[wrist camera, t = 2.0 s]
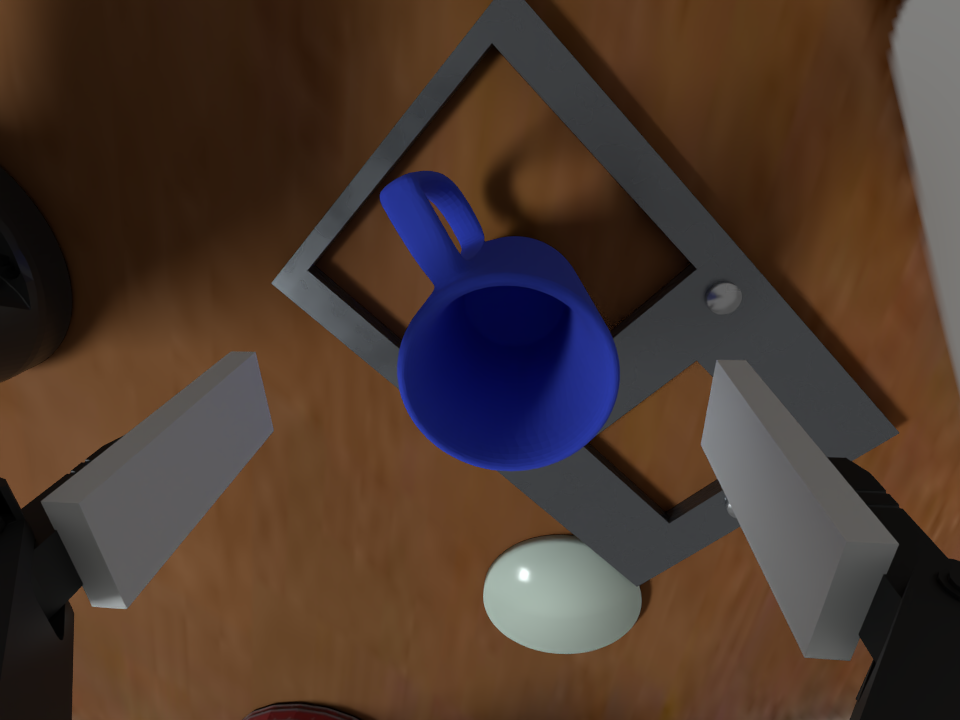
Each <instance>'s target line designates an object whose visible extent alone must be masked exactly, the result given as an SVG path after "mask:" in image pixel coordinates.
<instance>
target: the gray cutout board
mask: <svg viewBox="0 0 960 720" xmlns="http://www.w3.org/2000/svg"><path fill="white" fill-rule="evenodd" d="M493 45H494V47H495V48H496V49H497V50H498V51H499V52H500V53H501V54H502V55H503V56H504V58H505V59H506V60H507V61H508V62H509V63H510V64H511V65H512V66H513V67H514V69H515V70H516V71H517V72H518V73H519V74H520V75H521V76H522V77H523V78H524V80H525V81H526V82H527V83H528V84H529V85H530V86H531V87H532V88H533V90H534V91H535V92H536V93H537V94H538V95H539V96H540V97H541V98H542V99H543V101H544V102H545V103H546V104H547V105H548V106H549V107H550V108H551V109H552V110H553V112H554V113H555V114H556V115H557V116H558V117H559V118H560V119H561V120H562V121H563V123H564V124H565V125H566V126H567V127H568V128H569V129H570V130H571V131H572V132H573V134H574V135H575V136H576V137H577V138H578V139H579V140H580V141H581V142H582V144H583V145H584V146H585V147H586V148H587V149H588V150H589V151H590V152H591V153H592V155H593V156H594V157H595V158H596V159H597V160H598V161H599V162H600V163H601V164H602V166H603V167H604V168H605V169H606V170H607V171H608V172H609V173H610V174H611V175H612V177H613V178H614V179H615V180H616V181H617V182H618V183H619V184H620V185H621V187H622V188H623V189H624V190H625V191H626V192H627V193H628V194H629V195H630V196H631V198H632V199H633V200H634V201H635V202H636V203H637V204H638V205H639V206H640V207H641V209H642V210H643V211H644V212H645V213H646V214H647V215H648V216H649V217H650V218H651V220H652V221H653V222H654V223H655V224H656V225H657V226H658V227H659V228H660V229H661V231H662V232H663V233H664V234H665V235H666V236H667V237H668V238H669V239H670V241H671V242H672V243H673V244H674V245H675V246H676V247H677V248H678V249H679V250H680V252H681V253H682V254H683V255H684V256H685V257H686V258H687V259H688V260H689V261H690V263H691V265H689V266H688V267H687V268H686V269H685V270H683V271H682V272H681V273H680V274H679V275H677V276H676V277H675V278H674V279H673V280H671V281H670V282H669V283H668V284H667V285H665V286H664V287H663V288H662V289H661V290H659V291H658V292H657V293H656V294H655V295H653V296H652V297H651V298H650V299H649V300H647V301H646V302H645V303H644V304H643V305H641V306H640V307H639V308H638V309H637V310H635V311H634V312H633V313H632V314H631V315H629V316H628V317H627V318H626V319H625V320H623V321H622V322H621V323H620V324H619V325H617V326H616V327H615V328H614V329H613V330H611V331H610V333H611V335H612V337H613V340H614V343H615V346H616V349H617V353H618V358H619V365H620V384H619V389H618V395H617V398H616V402H615V405H614V407H613V410H612V412H611V414H610V416H609V418H608V420H607V421H606V423H605V424H604V426H603V427H602V429H601V430H600V431H599V432H598V433H597V435H598V434H599V433H600V432H602V431H603V430H604V429H606V428H607V427H608V426H610V425H611V424H612V423H614V422H615V421H616V420H618V419H619V418H620V417H622V416H623V415H624V414H626V413H627V412H628V411H630V410H631V409H632V408H634V407H635V406H636V405H638V404H639V403H640V402H642V401H643V400H644V399H646V398H647V397H648V396H650V395H651V394H652V393H654V392H655V391H656V390H658V389H659V388H660V387H662V386H663V385H664V384H666V383H667V382H668V381H670V380H671V379H672V378H674V377H675V376H676V375H678V374H679V373H680V372H682V371H683V370H684V369H686V368H687V367H688V366H690V365H691V364H692V363H694V362H695V361H696V360H697V361H698V362H699V363H700V364H701V365H702V366H703V367H704V368H705V369H706V370H707V371H708V372H709V373H710V375H711V376H712V377H713V376H714V371H715V365H716V360H746V361H747V362H748V363H749V364H750V366H751V367H752V368H753V369H754V370H755V372H756V373H757V374H758V375H759V376H760V378H761V379H762V380H763V381H764V382H765V384H766V385H767V386H768V387H769V388H770V390H771V391H772V392H773V393H774V394H775V396H776V397H777V398H778V399H779V400H780V402H781V403H782V404H783V405H784V406H785V408H786V409H787V410H788V411H789V412H790V414H791V415H792V416H793V417H794V418H795V420H796V421H797V422H798V423H799V424H800V426H801V427H802V428H803V429H804V430H805V432H806V433H807V434H808V435H809V436H810V438H811V439H812V440H813V441H814V442H815V444H816V445H817V446H818V447H819V448H820V450H821V451H822V452H823V453H824V454H825V456H826V457H840V458H847V459H849V460H850V461H853V460H854V459H856V458H858V457H859V456H861V455H863V454H865V453H866V452H868V451H870V450H871V449H873V448H875V447H876V446H878V445H880V444H882V443H883V442H885V441H887V440H888V439H890V438H892V437H894V436H895V435H897V434H899V432H898V431H897V430H896V428H895V427H894V426H893V425H892V424H891V423H890V422H889V420H888V419H887V418H886V417H885V416H884V415H883V413H882V412H881V411H880V410H879V409H878V408H877V407H876V405H875V404H874V403H873V402H872V401H871V400H870V398H869V397H868V396H867V395H866V394H865V393H864V391H863V390H862V389H861V388H860V387H859V386H858V385H857V383H856V382H855V381H854V380H853V379H852V378H851V376H850V375H849V374H848V373H847V372H846V371H845V370H844V368H843V367H842V366H841V365H840V364H839V363H838V361H837V360H836V359H835V358H834V357H833V356H832V355H831V353H830V352H829V351H828V350H827V349H826V348H825V346H824V345H823V344H822V343H821V342H820V341H819V340H818V338H817V337H816V336H815V335H814V334H813V333H812V331H811V330H810V329H809V328H808V327H807V326H806V325H805V323H804V322H803V321H802V320H801V319H800V318H799V316H798V315H797V314H796V313H795V312H794V311H793V310H792V308H791V307H790V306H789V305H788V304H787V303H786V301H785V300H784V299H783V298H782V297H781V296H780V295H779V293H778V292H777V291H776V290H775V289H774V288H773V286H772V285H771V284H770V283H769V282H768V281H767V280H766V278H765V277H764V276H763V275H762V274H761V273H760V271H759V270H758V269H757V268H756V267H755V266H754V265H753V263H752V262H751V261H750V260H749V259H748V258H747V256H746V255H745V254H744V253H743V252H742V251H741V250H740V248H739V247H738V246H737V245H736V244H735V243H734V241H733V240H732V239H731V238H730V237H729V236H728V235H727V233H726V232H725V231H724V230H723V229H722V228H721V226H720V225H719V224H718V223H717V222H716V221H715V219H714V218H713V217H712V216H711V215H710V214H709V213H708V211H707V210H706V209H705V208H704V207H703V206H702V204H701V203H700V202H699V201H698V200H697V199H696V198H695V196H694V195H693V194H692V193H691V192H690V191H689V189H688V188H687V187H686V186H685V185H684V184H683V183H682V181H681V180H680V179H679V178H678V177H677V176H676V174H675V173H674V172H673V171H672V170H671V169H670V168H669V166H668V165H667V164H666V163H665V162H664V161H663V159H662V158H661V157H660V156H659V155H658V154H657V153H656V151H655V150H654V149H653V148H652V147H651V146H650V144H649V143H648V142H647V141H646V140H645V139H644V138H643V136H642V135H641V134H640V133H639V132H638V131H637V129H636V128H635V127H634V126H633V125H632V124H631V123H630V121H629V120H628V119H627V118H626V117H625V116H624V114H623V113H622V112H621V111H620V110H619V109H618V108H617V106H616V105H615V104H614V103H613V102H612V101H611V99H610V98H609V97H608V96H607V95H606V94H605V93H604V91H603V90H602V89H601V88H600V87H599V86H598V84H597V83H596V82H595V81H594V80H593V79H592V78H591V76H590V75H589V74H588V73H587V72H586V71H585V69H584V68H583V67H582V66H581V65H580V64H579V62H578V61H577V60H576V59H575V58H574V57H573V56H572V54H571V53H570V52H569V51H568V50H567V49H566V47H565V46H564V45H563V44H562V43H561V42H560V41H559V39H558V38H557V37H556V36H555V35H554V34H553V32H552V31H551V30H550V29H549V28H548V27H547V26H546V24H545V23H544V22H543V21H542V20H541V19H540V17H539V16H538V15H537V14H536V13H535V12H534V11H533V9H532V8H531V7H530V6H529V5H528V4H527V2H526V1H525V0H493V1H492V3H491V4H490V5H489V7H488V8H487V9H486V10H485V12H484V13H483V14H482V16H481V17H480V18H479V19H478V21H477V22H476V23H475V24H474V26H473V27H472V28H471V30H470V31H469V32H468V33H467V35H466V36H465V37H464V38H463V40H462V41H461V42H460V44H459V45H458V46H457V47H456V49H455V50H454V51H453V52H452V54H451V55H450V56H449V58H448V59H447V60H446V61H445V63H444V64H443V65H442V66H441V68H440V69H439V70H438V72H437V73H436V74H435V75H434V77H433V78H432V79H431V81H430V82H429V83H428V84H427V86H426V87H425V88H424V89H423V91H422V92H421V93H420V95H419V96H418V97H417V98H416V100H415V101H414V102H413V103H412V105H411V106H410V107H409V109H408V110H407V111H406V112H405V114H404V115H403V116H402V117H401V119H400V120H399V121H398V123H397V124H396V125H395V126H394V128H393V129H392V130H391V131H390V133H389V134H388V135H387V137H386V138H385V139H384V140H383V142H382V143H381V144H380V146H379V147H378V148H377V149H376V151H375V152H374V153H373V154H372V156H371V157H370V158H369V160H368V161H367V162H366V163H365V165H364V166H363V167H362V168H361V170H360V171H359V172H358V174H357V175H356V176H355V177H354V179H353V180H352V181H351V182H350V184H349V185H348V186H347V188H346V189H345V190H344V191H343V193H342V194H341V195H340V196H339V198H338V199H337V200H336V202H335V203H334V204H333V205H332V207H331V208H330V209H329V211H328V212H327V213H326V214H325V216H324V217H323V218H322V219H321V221H320V222H319V223H318V225H317V226H316V227H315V228H314V230H313V231H312V232H311V233H310V235H309V236H308V237H307V239H306V240H305V241H304V242H303V244H302V245H301V246H300V247H299V249H298V250H297V251H296V253H295V254H294V255H293V256H292V258H291V259H290V260H289V261H288V263H287V264H286V265H285V267H284V268H283V269H282V270H281V272H280V273H279V274H278V276H277V277H276V278H275V279H274V281H273V282H272V284H273V285H274V286H275V287H276V288H278V289H279V290H280V291H281V292H282V293H284V294H285V295H286V296H287V297H288V298H290V299H291V300H292V301H293V302H294V303H296V304H297V305H298V306H299V307H300V308H302V309H303V310H304V311H305V312H306V313H308V314H309V315H310V316H311V317H312V318H314V319H315V320H316V321H317V322H319V323H320V324H321V325H322V326H323V327H325V328H326V329H327V330H328V331H329V332H331V333H332V334H333V335H334V336H335V337H337V338H338V339H339V340H340V341H341V342H343V343H344V344H345V345H346V346H347V347H349V348H350V349H351V350H352V351H353V352H355V353H356V354H357V355H358V356H359V357H361V358H362V359H363V360H364V361H365V362H367V363H368V364H369V365H370V366H371V367H373V368H374V369H375V370H376V371H378V372H379V373H380V374H381V375H382V376H384V377H385V378H386V379H387V380H388V381H390V382H391V383H392V384H393V385H394V386H396V387H397V388H398V389H399V385H398V377H397V362H398V354H399V349H400V346H401V342H402V340H401V339H400V338H398V337H397V336H396V335H395V334H394V333H393V332H391V331H390V330H389V329H388V328H387V327H386V326H384V325H383V324H382V323H381V322H380V321H379V320H378V319H376V318H375V317H374V316H373V315H372V314H371V313H369V312H368V311H367V310H366V309H365V308H364V307H362V306H361V305H360V304H359V303H358V302H357V301H355V300H354V299H353V298H352V297H351V296H350V295H349V294H347V293H346V292H345V291H344V290H343V289H342V288H340V287H339V286H338V285H337V284H336V283H335V282H333V281H332V280H331V279H330V278H329V277H328V276H326V275H325V274H324V273H323V272H322V271H321V270H320V269H318V268H317V267H316V266H315V264H316V263H317V261H318V260H319V259H320V258H321V257H322V255H323V254H324V253H325V252H326V250H327V249H328V248H329V247H330V245H331V244H332V243H333V242H334V241H335V239H336V238H337V237H338V236H339V234H340V233H341V232H342V231H343V229H344V228H345V227H346V226H347V225H348V223H349V222H350V221H351V220H352V218H353V217H354V216H355V215H356V214H357V212H358V211H359V210H360V209H361V207H362V206H363V205H364V204H365V202H366V201H367V200H368V199H369V198H370V196H371V195H372V194H373V193H374V191H375V190H376V189H377V188H378V186H379V185H380V184H381V183H382V182H383V180H384V179H385V178H386V177H387V175H388V174H389V173H390V172H391V171H392V169H393V168H394V167H395V166H396V164H397V163H398V162H399V161H400V159H401V158H402V157H403V156H404V155H405V153H406V152H407V151H408V150H409V148H410V147H411V146H412V145H413V144H414V142H415V141H416V140H417V139H418V137H419V136H420V135H421V134H422V132H423V131H424V130H425V129H426V128H427V126H428V125H429V124H430V123H431V121H432V120H433V119H434V118H435V116H436V115H437V114H438V113H439V112H440V110H441V109H442V108H443V107H444V105H445V104H446V103H447V102H448V101H449V99H450V98H451V97H452V96H453V94H454V93H455V92H456V91H457V89H458V88H459V87H460V86H461V85H462V83H463V82H464V81H465V80H466V78H467V77H468V76H469V75H470V74H471V72H472V71H473V70H474V69H475V67H476V66H477V65H478V64H479V62H480V61H481V60H482V59H483V58H484V56H485V55H486V54H487V53H488V51H489V50H490V49H491V48H492V46H493ZM497 471H498V470H497ZM498 472H499V473H500V474H502V475H503V476H504V477H505V478H506V479H508V480H509V481H510V482H511V483H512V484H514V485H515V486H516V487H517V488H518V489H520V490H521V491H522V492H523V493H524V494H526V495H527V496H528V497H529V498H530V499H532V500H533V501H534V502H535V503H536V504H538V505H539V506H540V507H541V508H542V509H544V510H545V511H546V512H547V513H548V514H550V515H551V516H552V517H553V518H555V519H556V520H557V521H558V522H559V523H561V524H562V525H563V526H564V527H565V528H567V529H568V530H569V531H570V532H571V533H573V534H574V535H575V536H576V537H577V538H579V539H580V540H581V541H582V542H583V543H585V544H586V545H587V546H588V547H589V548H591V549H592V550H593V551H594V552H595V553H597V554H598V555H599V556H600V557H601V558H603V559H604V560H605V561H606V562H607V563H609V564H610V565H611V566H612V567H614V568H615V569H616V570H617V571H618V572H620V573H621V574H622V575H623V576H624V577H626V578H627V579H628V580H629V581H630V582H632V583H633V584H634V585H635V586H636V587H638V586H639V585H641V584H643V583H644V582H646V581H648V580H649V579H651V578H653V577H655V576H656V575H658V574H660V573H661V572H663V571H665V570H667V569H668V568H670V567H672V566H673V565H675V564H677V563H678V562H680V561H682V560H684V559H685V558H687V557H689V556H690V555H692V554H694V553H696V552H697V551H699V550H701V549H702V548H704V547H706V546H708V545H709V544H711V543H713V542H714V541H716V540H718V539H719V538H721V537H723V536H725V535H726V534H728V533H730V532H731V531H733V530H735V529H737V528H738V527H740V524H739V522H738V520H737V518H736V516H735V514H734V512H733V510H732V508H731V505H730V503H729V501H728V499H727V497H726V495H725V493H724V491H723V489H722V487H721V485H720V483H719V481H718V479H717V480H716V481H714V482H713V483H711V484H709V485H708V486H706V487H705V488H703V489H702V490H700V491H698V492H697V493H695V494H694V495H692V496H691V497H689V498H687V499H686V500H684V501H683V502H681V503H680V504H678V505H676V506H675V507H673V508H672V509H670V510H669V511H667V512H665V511H664V510H662V509H661V508H660V507H659V506H658V505H657V504H656V503H655V502H654V501H652V500H651V499H650V498H649V497H648V496H647V495H646V494H645V493H644V492H642V491H641V490H640V489H639V488H638V487H637V486H636V485H635V484H634V483H632V482H631V481H630V480H629V479H628V478H627V477H626V476H625V475H624V474H622V473H621V472H620V471H619V470H618V469H617V468H616V467H615V466H614V465H613V464H611V463H610V462H609V461H608V460H607V459H606V458H605V457H604V456H603V455H601V454H600V453H599V452H598V451H597V450H596V449H595V448H594V447H593V446H591V445H590V444H589V443H588V444H586V445H585V446H584V447H583V448H581V449H580V450H579V451H577V452H576V453H574V454H573V455H571V456H569V457H567V458H565V459H563V460H561V461H559V462H557V463H554V464H551V465H548V466H545V467H541V468H537V469H531V470H524V471H498Z"/></svg>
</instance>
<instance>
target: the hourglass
mask: <svg viewBox="0 0 960 720" xmlns="http://www.w3.org/2000/svg"><path fill="white" fill-rule="evenodd" d="M243 720H359V719H357V718H355V717H353V716H350V715H347V714H344V713H342V712H339V711H336V710H333V709H330V708H326V707H320V706H313V705H307V704H280V705H272V706H269V707H266V708H263V709H259V710H256V711H253V712H252V713H250V714H249V715H248V716H247V717H245V718H244V719H243Z"/></svg>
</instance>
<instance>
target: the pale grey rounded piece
mask: <svg viewBox="0 0 960 720" xmlns="http://www.w3.org/2000/svg"><path fill="white" fill-rule="evenodd" d="M483 599H484V606H485V609H486V612H487V614H488V616H489V618H490V620H491V621H492V622H493V624H494V625H495V626H496V627H497V628H498V629H499V630H500V631H501V632H502V633H503V634H504V635H506V636H507V637H509V638H510V639H512V640H513V641H515V642H517V643H519V644H521V645H523V646H526V647H528V648H531V649H535V650H538V651H543V652H548V653H557V654H574V653H583V652H588V651H593V650H596V649H599V648H602V647H605V646H607V645H609V644H611V643H613V642H615V641H616V640H618V639H620V638H621V637H622V636H624V635H625V634H626V633H627V632H628V631H629V630H630V629H631V628H632V627H633V625H634V624H635V622H636V621H637V618H638V616H639V614H640V610H641V604H642V598H641V591H640V587H639V586H638V587H636V586H635V585H634V584H633V583H632V582H630V581H629V580H628V579H627V578H626V577H624V576H623V575H622V574H621V573H620V572H618V571H617V570H616V569H615V568H614V567H612V566H611V565H610V564H609V563H607V562H606V561H605V560H604V559H603V558H601V557H600V556H599V555H598V554H597V553H595V552H594V551H593V550H592V549H591V548H589V547H588V546H587V545H586V544H585V543H583V542H582V541H581V540H580V539H579V538H577V537H576V536H571V535H547V536H540V537H535V538H531V539H528V540H525V541H522V542H520V543H518V544H515V545H513V546H512V547H510V548H509V549H507V550H505V551H504V552H503V553H502V554H500V555H499V556H498V557H497V558H496V560H495V561H494V562H493V563H492V565H491V566H490V568H489V570H488V572H487V574H486V578H485V583H484V595H483Z"/></svg>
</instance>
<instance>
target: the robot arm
mask: <svg viewBox="0 0 960 720" xmlns="http://www.w3.org/2000/svg"><path fill="white" fill-rule="evenodd" d="M71 310H72V294H71V285H70V279H69V275H68V271H67V267H66V264H65V261H64V258H63V255H62V253H61V250H60V248H59V245H58V243H57V241H56V239H55V237H54V235H53V233H52V231H51V229H50V228H49V226H48V224H47V223H46V221H45V219H44V218H43V216H42V215H41V213H40V212H39V210H38V209H37V207H36V206H35V205H34V203H33V202H32V201H31V199H30V198H29V197H28V195H27V194H26V193H25V192H24V191H23V189H22V188H21V187H20V186H19V185H18V184H17V183H16V182H15V181H14V179H13V178H12V177H11V176H10V175H9V174H8V173H7V172H6V171H5V170H3V169H2V168H1V167H0V382H3V381H6V380H8V379H10V378H12V377H14V376H16V375H18V374H20V373H22V372H24V371H26V370H28V369H30V368H32V367H34V366H36V365H37V364H39V363H41V362H43V361H44V360H45V359H47V358H48V357H49V356H50V355H51V354H53V353H54V351H55V350H56V349H57V348H58V347H59V345H60V344H61V342H62V341H63V339H64V337H65V335H66V332H67V330H68V326H69V323H70V318H71ZM273 431H274V429H273V425H272V421H271V416H270V412H269V408H268V404H267V399H266V395H265V391H264V386H263V382H262V378H261V374H260V369H259V365H258V361H257V356H256V352H230V353H229V354H227V355H226V356H225V357H223V358H222V359H221V360H220V361H218V362H217V363H216V364H215V365H213V366H212V367H211V368H210V369H208V370H207V371H206V372H204V373H203V374H202V375H201V376H199V377H198V378H197V379H196V380H194V381H193V382H192V383H190V384H189V385H188V386H187V387H185V388H184V389H183V390H182V391H180V392H179V393H178V394H176V395H175V396H174V397H173V398H171V399H170V400H169V401H168V402H166V403H165V404H164V405H163V406H161V407H160V408H159V409H157V410H156V411H155V412H154V413H152V414H151V415H150V416H149V417H147V418H146V419H145V420H143V421H142V422H141V423H140V424H138V425H137V426H136V427H135V428H133V429H132V430H131V431H129V432H128V433H127V434H126V435H124V436H122V437H120V438H118V439H116V440H114V441H112V442H110V443H108V444H106V445H104V446H102V447H101V448H100V449H98V450H97V451H96V452H95V453H93V454H92V455H91V456H89V457H88V458H87V459H86V460H85V463H80V464H79V465H78V466H76V467H75V468H74V469H73V470H71V473H70V474H66V475H65V476H64V477H62V478H61V479H60V480H58V481H57V482H56V483H54V484H53V485H52V486H51V487H49V488H48V489H47V490H45V491H44V492H43V493H41V494H40V495H39V496H38V497H36V498H35V499H34V500H32V501H31V502H30V503H29V504H27V505H26V506H25V507H23V508H22V509H21V508H20V506H19V504H18V502H17V501H16V499H15V497H14V495H13V493H12V491H11V489H10V487H9V485H8V483H7V481H6V479H3V478H1V477H0V720H72V683H73V640H74V612H73V609H72V607H71V605H70V603H69V601H68V600H69V599H70V598H71V597H72V596H73V595H74V594H75V593H76V592H77V591H78V589H79V588H80V587H81V586H83V588H84V590H85V593H86V595H87V597H88V599H89V601H90V603H91V605H92V607H105V608H119V609H127V608H128V607H129V606H130V605H131V603H132V602H133V601H134V600H135V599H136V597H137V596H138V595H139V594H140V592H141V591H142V590H143V589H144V588H145V586H146V585H147V584H148V583H149V582H150V580H151V579H152V578H153V577H154V575H155V574H156V573H157V572H158V571H159V569H160V568H161V567H162V566H163V565H164V563H165V562H166V561H167V560H168V558H169V557H170V556H171V555H172V554H173V552H174V551H175V550H176V549H177V548H178V546H179V545H180V544H181V543H182V541H183V540H184V539H185V538H186V537H187V535H188V534H189V533H190V532H191V531H192V529H193V528H194V527H195V526H196V524H197V523H198V522H199V521H200V520H201V518H202V517H203V516H204V515H205V514H206V512H207V511H208V510H209V509H210V507H211V506H212V505H213V504H214V503H215V501H216V500H217V499H218V498H219V497H220V495H221V494H222V493H223V492H224V490H225V489H226V488H227V487H228V486H229V484H230V483H231V482H232V481H233V480H234V478H235V477H236V476H237V475H238V473H239V472H240V471H241V470H242V469H243V467H244V466H245V465H246V464H247V463H248V461H249V460H250V459H251V458H252V456H253V455H254V454H255V453H256V452H257V450H258V449H259V448H260V447H261V446H262V444H263V443H264V442H265V441H266V440H267V438H268V437H269V436H270V435H271V433H272V432H273ZM701 446H702V448H703V450H704V452H705V454H706V456H707V458H708V460H709V462H710V464H711V466H712V469H713V471H714V473H715V475H716V477H717V479H718V481H719V483H720V485H721V487H722V489H723V491H724V493H725V495H726V497H727V499H728V501H729V503H730V505H731V508H732V510H733V512H734V514H735V516H736V518H737V520H738V522H739V524H740V526H741V528H742V530H743V532H744V534H745V536H746V538H747V540H748V542H749V544H750V547H751V549H752V551H753V553H754V555H755V557H756V559H757V561H758V563H759V565H760V567H761V569H762V571H763V573H764V575H765V577H766V579H767V581H768V583H769V586H770V588H771V590H772V592H773V594H774V596H775V598H776V600H777V602H778V604H779V606H780V608H781V610H782V612H783V614H784V616H785V618H786V620H787V623H788V625H789V627H790V629H791V631H792V633H793V635H794V637H795V639H796V641H797V643H798V645H799V647H800V649H801V651H802V653H803V655H804V657H805V658H819V659H833V660H847V661H850V660H851V657H852V655H853V653H854V650H855V648H856V646H857V643H858V641H859V638H861V640H862V641H863V643H864V645H865V646H866V648H867V649H868V651H869V653H870V654H871V656H872V658H873V661H872V664H871V666H870V668H869V670H868V673H867V675H866V677H865V679H864V682H863V684H862V686H861V688H860V690H859V693H858V695H857V697H856V700H857V702H856V705H855V707H854V710H853V713H852V715H851V718H850V720H960V561H957V560H954V559H948V558H947V557H946V556H945V555H944V553H943V552H942V551H941V550H940V549H939V548H938V547H937V546H936V545H935V544H934V543H933V541H932V540H931V539H930V538H929V537H928V536H927V535H926V534H925V533H924V532H923V530H922V529H921V528H920V527H919V526H918V525H917V524H916V523H915V522H914V521H913V520H912V518H911V517H910V516H909V515H908V514H907V513H906V512H905V511H904V510H903V509H901V508H899V504H898V503H897V502H896V501H895V500H894V499H893V498H892V497H891V495H890V494H886V490H885V489H884V488H883V487H882V486H881V485H880V483H879V482H878V481H877V480H876V479H875V478H874V477H873V476H872V475H871V474H870V473H869V472H868V471H866V470H864V469H863V468H861V467H860V466H858V465H857V464H855V463H854V462H852V461H850V460H849V459H847V458H840V457H826V456H825V454H824V453H823V452H822V451H821V450H820V448H819V447H818V446H817V445H816V444H815V442H814V441H813V440H812V439H811V438H810V436H809V435H808V434H807V433H806V432H805V430H804V429H803V428H802V427H801V426H800V424H799V423H798V422H797V421H796V420H795V418H794V417H793V416H792V415H791V414H790V412H789V411H788V410H787V409H786V408H785V406H784V405H783V404H782V403H781V402H780V400H779V399H778V398H777V397H776V396H775V394H774V393H773V392H772V391H771V390H770V388H769V387H768V386H767V385H766V384H765V382H764V381H763V380H762V379H761V378H760V376H759V375H758V374H757V373H756V372H755V370H754V369H753V368H752V367H751V366H750V364H749V363H748V362H747V361H746V360H716V365H715V371H714V376H713V381H712V387H711V392H710V398H709V403H708V409H707V414H706V419H705V425H704V430H703V436H702V441H701Z"/></svg>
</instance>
